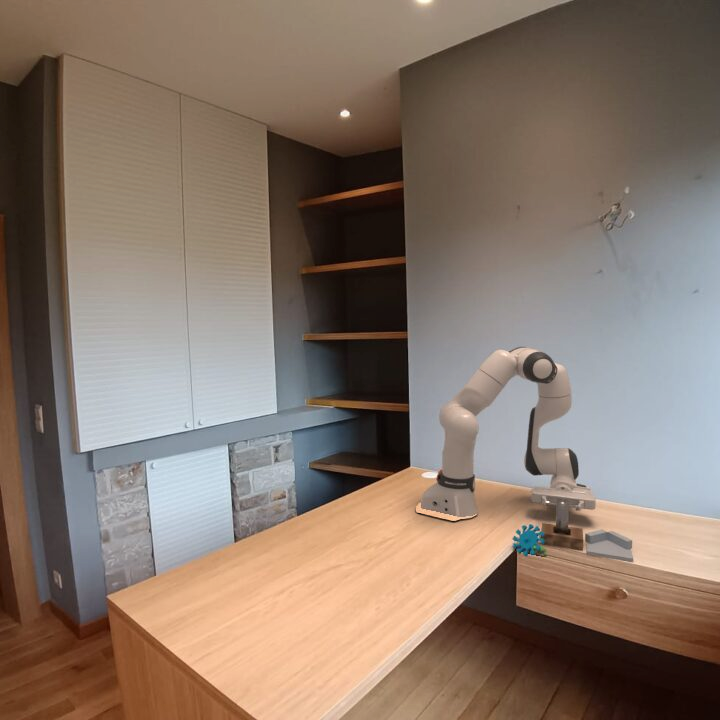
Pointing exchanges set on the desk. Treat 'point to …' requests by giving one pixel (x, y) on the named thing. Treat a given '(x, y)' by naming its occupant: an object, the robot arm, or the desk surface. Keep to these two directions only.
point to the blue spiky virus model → (529, 540)
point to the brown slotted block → (563, 537)
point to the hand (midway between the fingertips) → (562, 506)
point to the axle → (562, 516)
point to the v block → (609, 545)
